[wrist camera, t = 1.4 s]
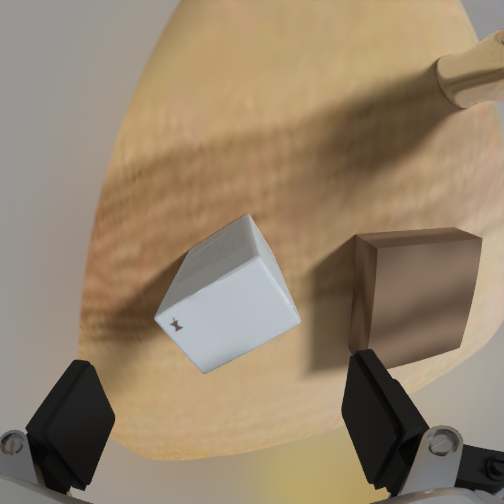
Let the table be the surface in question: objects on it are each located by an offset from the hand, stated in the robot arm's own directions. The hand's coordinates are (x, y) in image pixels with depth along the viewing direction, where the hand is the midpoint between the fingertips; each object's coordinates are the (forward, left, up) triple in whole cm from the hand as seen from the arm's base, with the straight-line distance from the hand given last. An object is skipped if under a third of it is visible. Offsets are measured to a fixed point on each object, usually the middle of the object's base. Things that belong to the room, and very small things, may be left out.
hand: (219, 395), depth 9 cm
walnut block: (+5, +17, -17) cm, 24 cm away
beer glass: (-17, +24, -17) cm, 34 cm away
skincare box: (0, 0, -17) cm, 17 cm away
